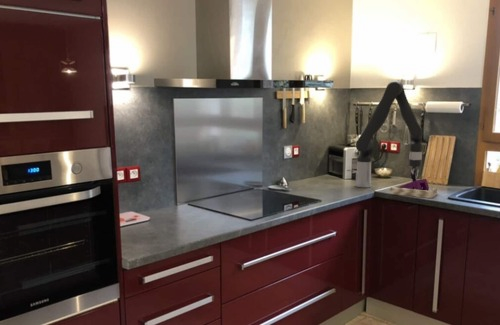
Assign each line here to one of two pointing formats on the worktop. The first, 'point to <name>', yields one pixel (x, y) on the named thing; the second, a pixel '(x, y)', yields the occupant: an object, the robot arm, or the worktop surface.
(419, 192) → the beige tray
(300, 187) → the worktop surface
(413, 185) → the purple wedge
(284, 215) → the worktop surface
